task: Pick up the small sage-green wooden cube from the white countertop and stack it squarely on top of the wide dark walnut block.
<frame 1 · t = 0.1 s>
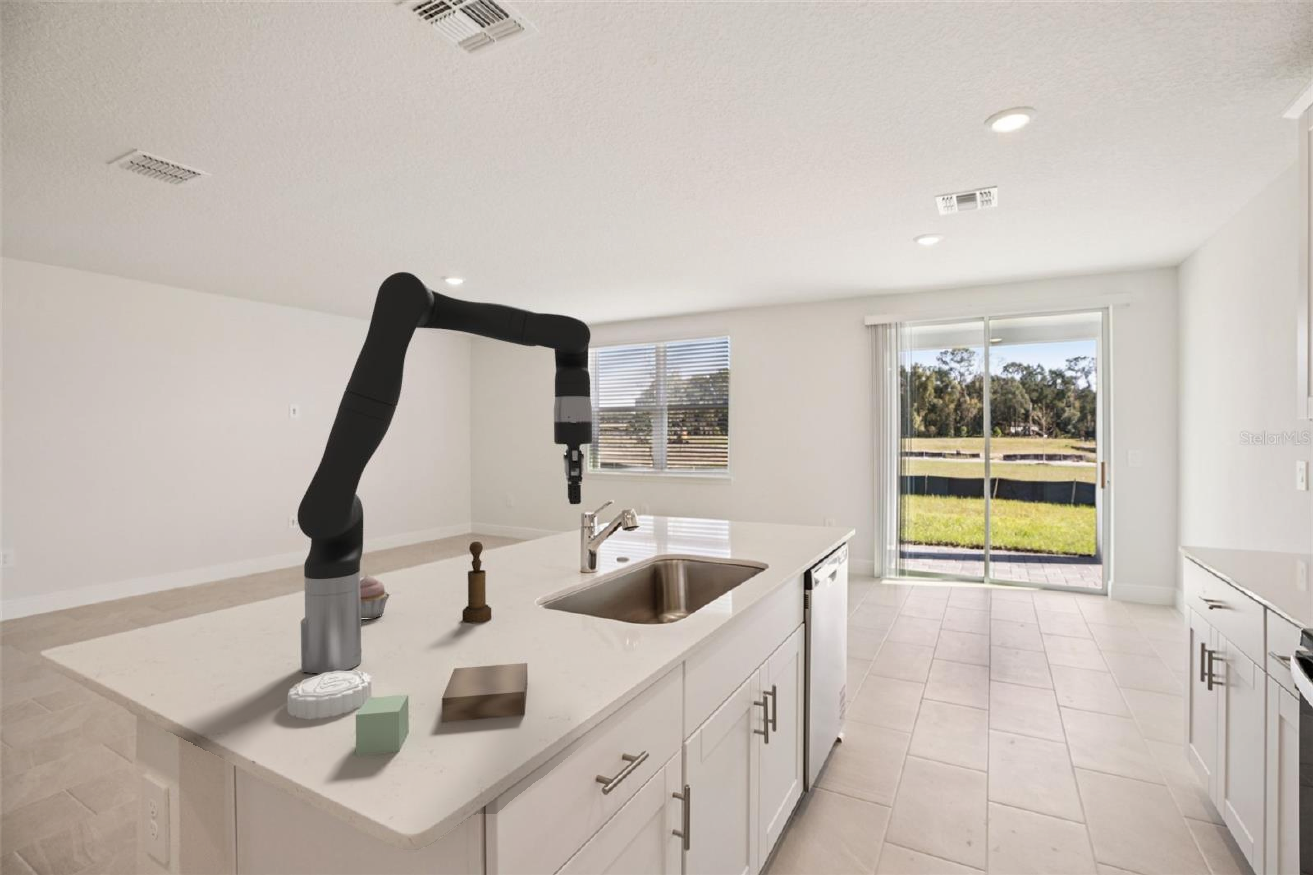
hand: (574, 501, 123), 29 cm above the worktop, tool pointing down, fingers open, 8 cm apart
sage block: (383, 743, 86), on the worktop
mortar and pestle: (477, 620, 144), on the worktop
mooncake: (331, 705, 100), on the worktop
walnut block: (487, 704, 99), on the worktop
cupcake: (368, 617, 148), on the worktop
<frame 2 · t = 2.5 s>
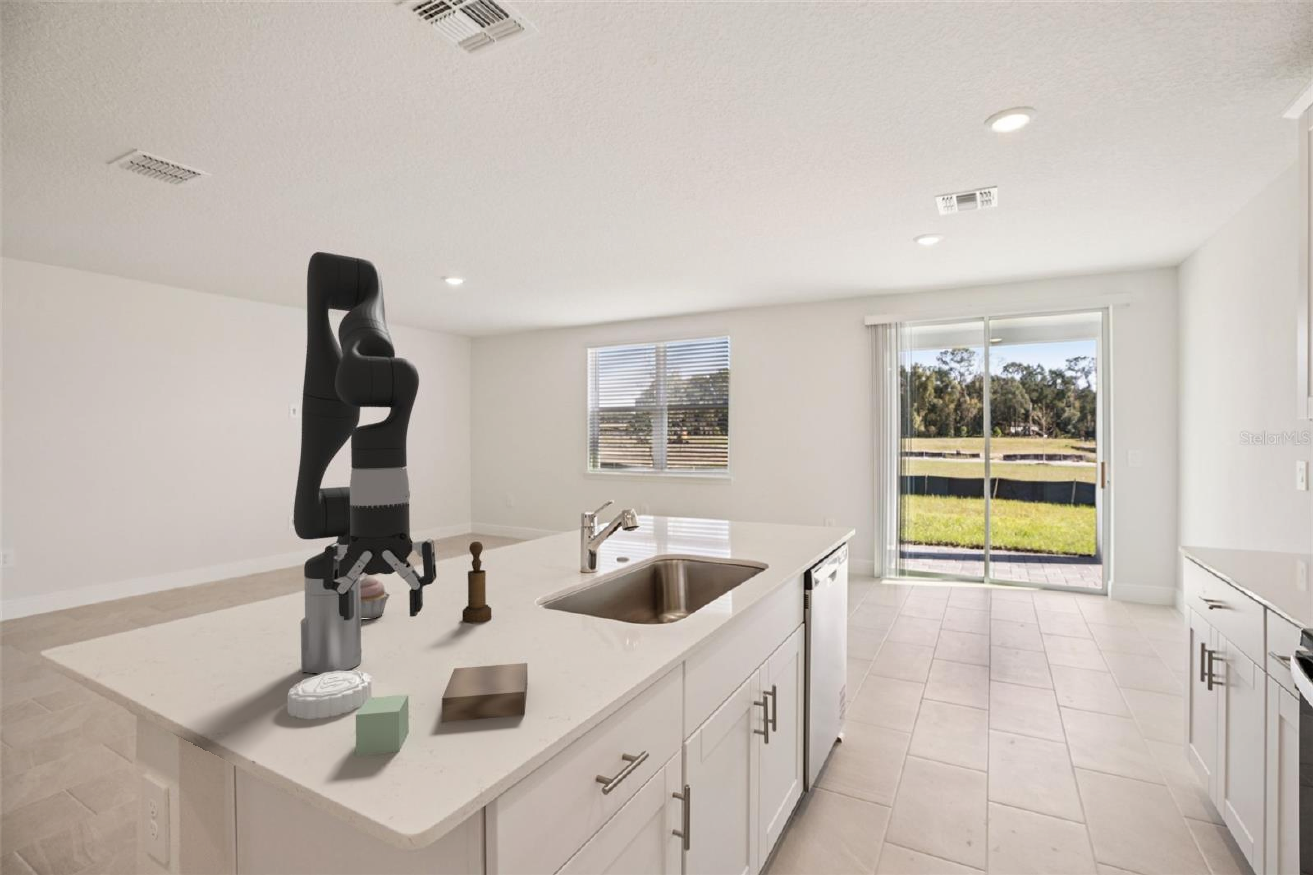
hand: (382, 617, 86), 17 cm above the worktop, tool pointing down, fingers open, 8 cm apart
nothing on the worktop moved.
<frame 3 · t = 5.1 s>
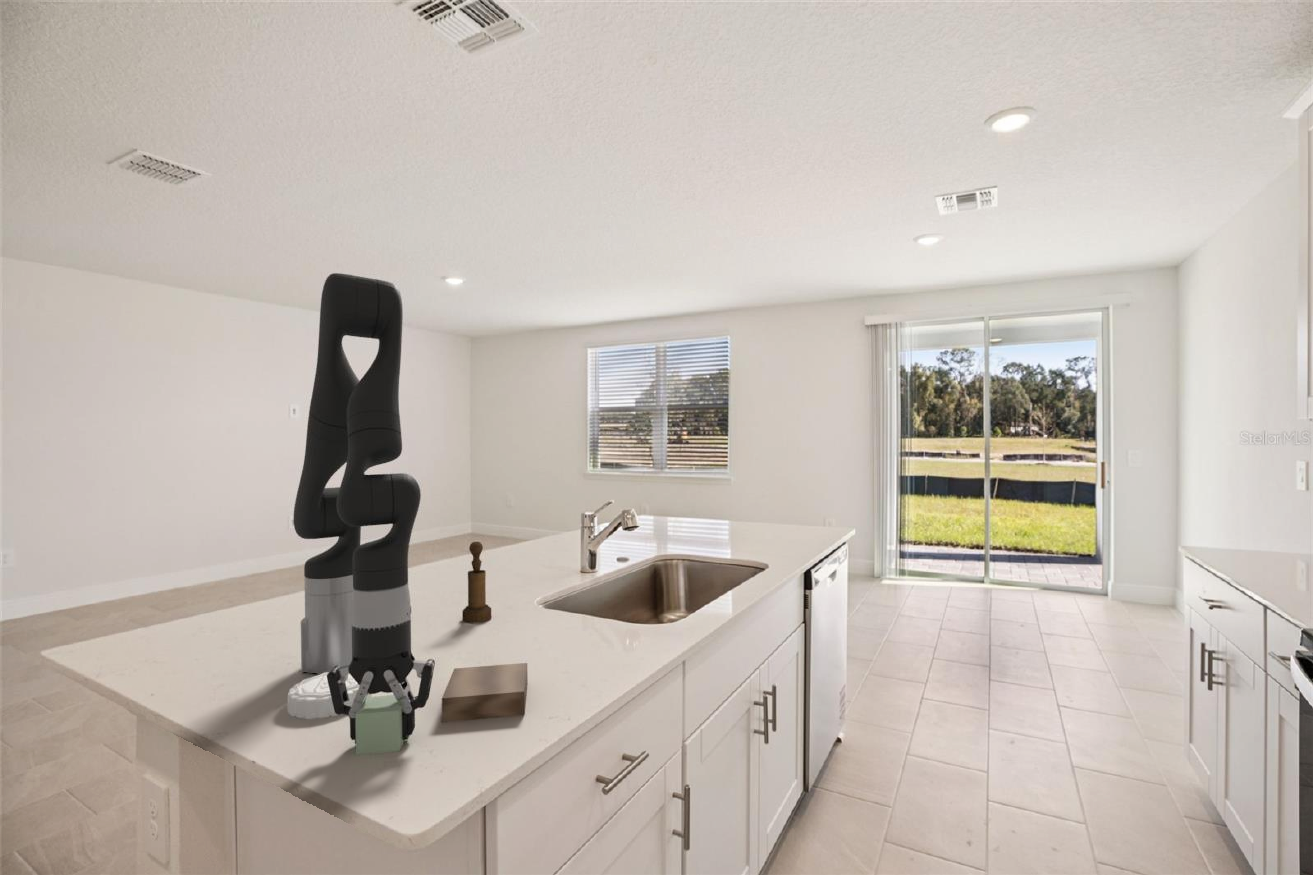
hand: (383, 738, 86), 1 cm above the worktop, tool pointing down, fingers closed on sage block, 5 cm apart
sage block: (383, 743, 86), on the worktop, touching gripper
everything else where it was.
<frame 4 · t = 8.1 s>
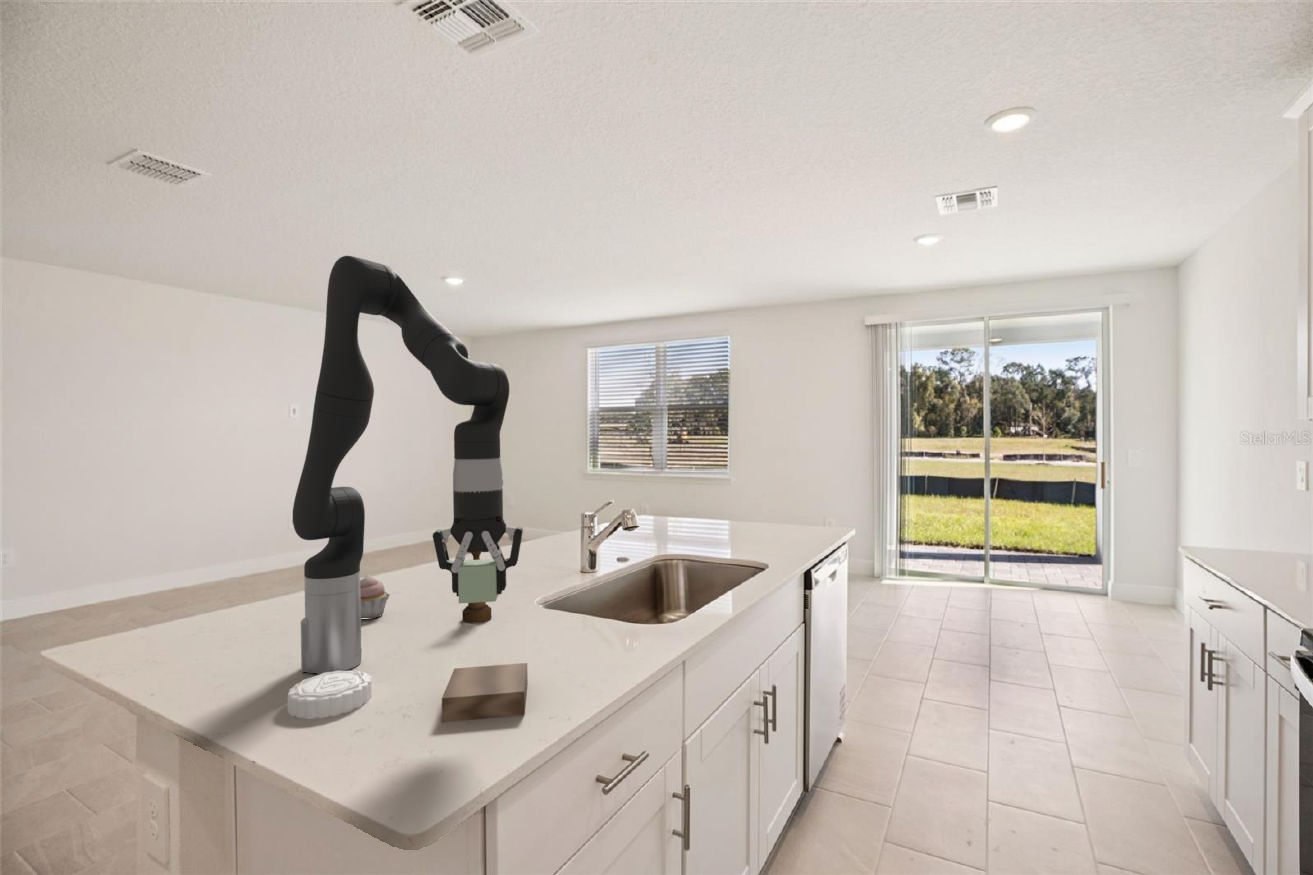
hand: (479, 593, 98), 18 cm above the worktop, tool pointing down, fingers closed on sage block, 5 cm apart
sage block: (479, 597, 98), point 17 cm above the worktop, touching gripper
everything else where it was.
when the fingers open (6 cm above the worktop, at t = 11.3 s): sage block drops 2 cm, resting on walnut block.
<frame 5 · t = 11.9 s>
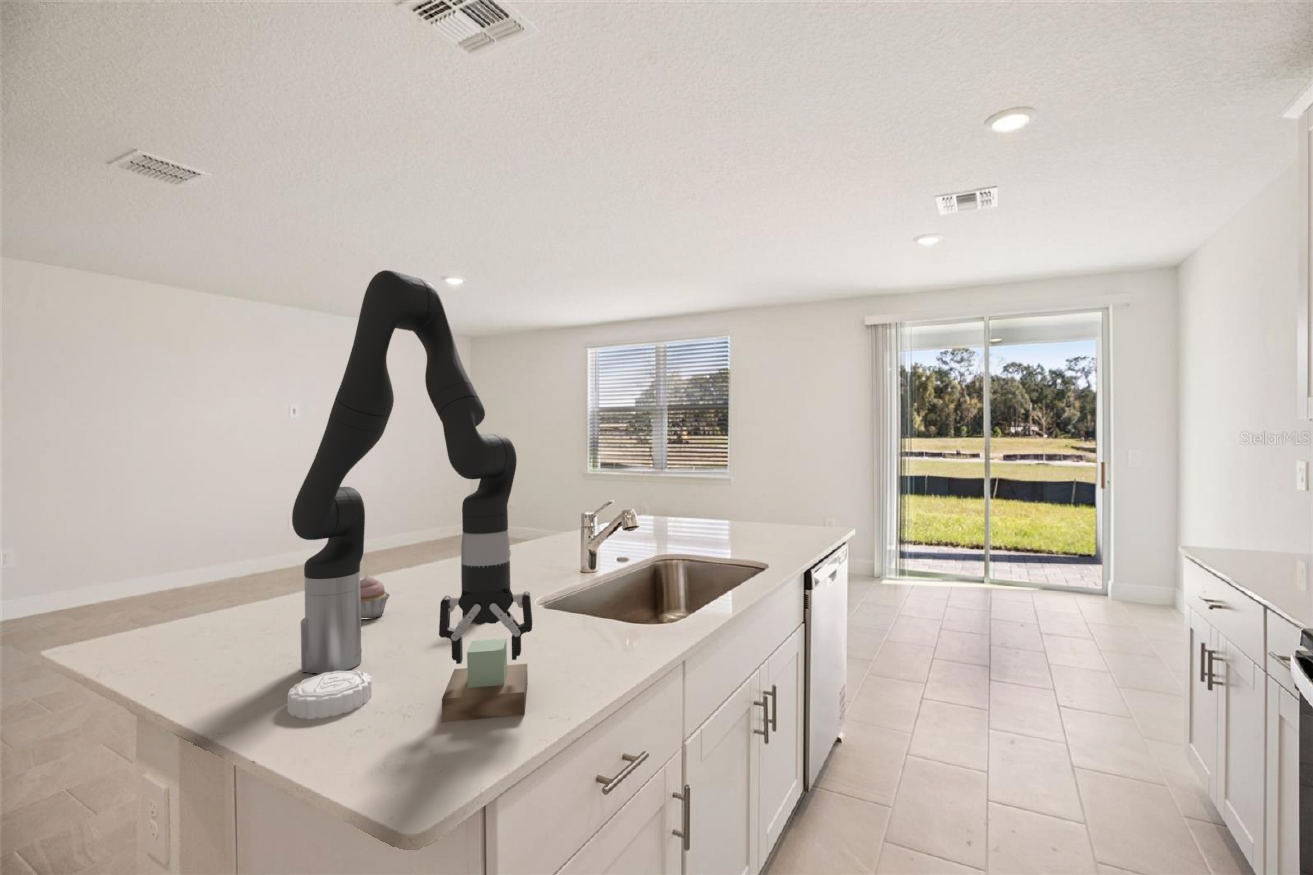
hand: (487, 660, 99), 7 cm above the worktop, tool pointing down, fingers open, 8 cm apart
sage block: (488, 679, 99), point 3 cm above the worktop, touching walnut block
walnut block: (487, 705, 99), on the worktop, touching sage block
everything else where it was.
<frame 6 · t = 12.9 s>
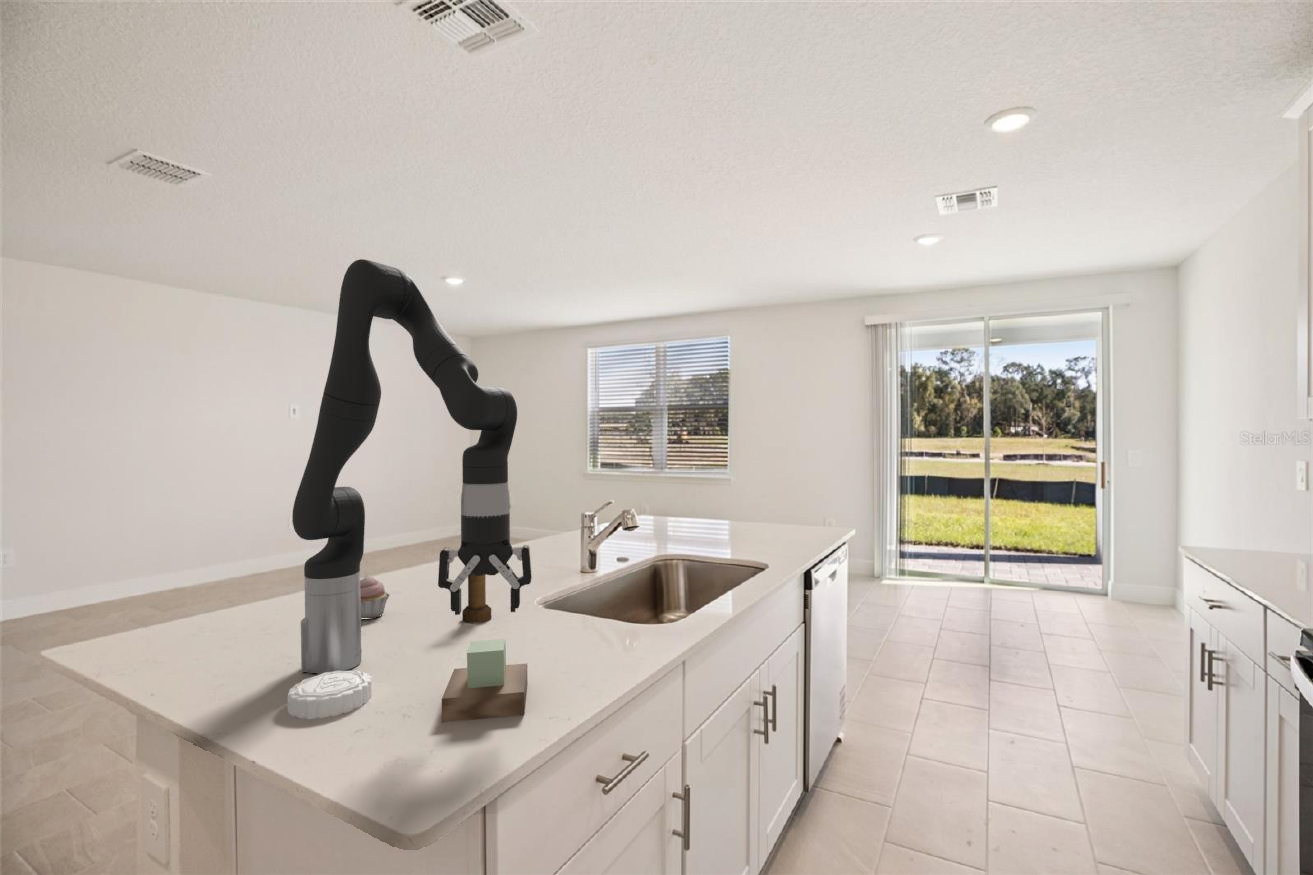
hand: (486, 612, 99), 14 cm above the worktop, tool pointing down, fingers open, 8 cm apart
nothing on the worktop moved.
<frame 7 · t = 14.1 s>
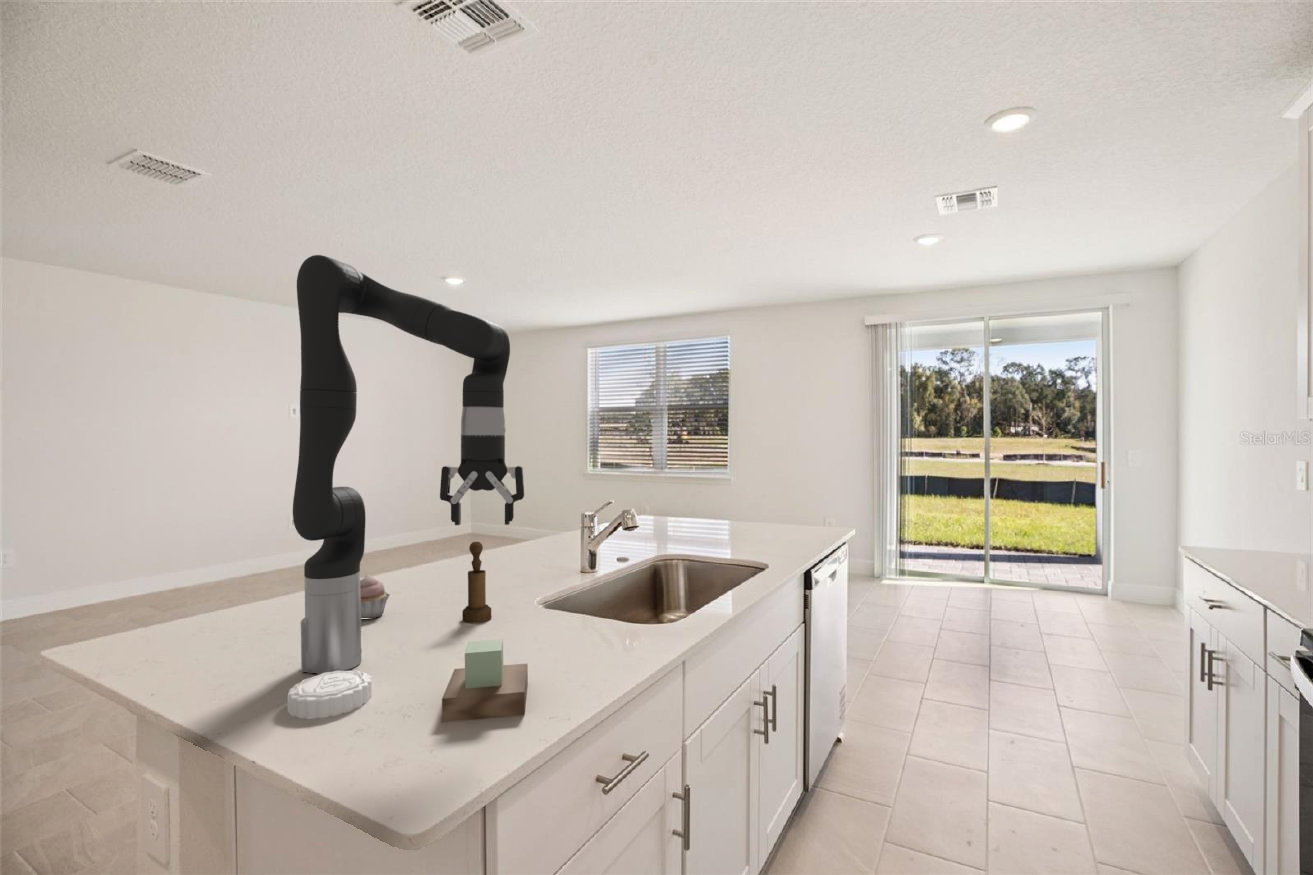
hand: (482, 524, 110), 27 cm above the worktop, tool pointing down, fingers open, 8 cm apart
sage block: (484, 680, 99), point 3 cm above the worktop
walnut block: (488, 704, 99), on the worktop
everything else where it was.
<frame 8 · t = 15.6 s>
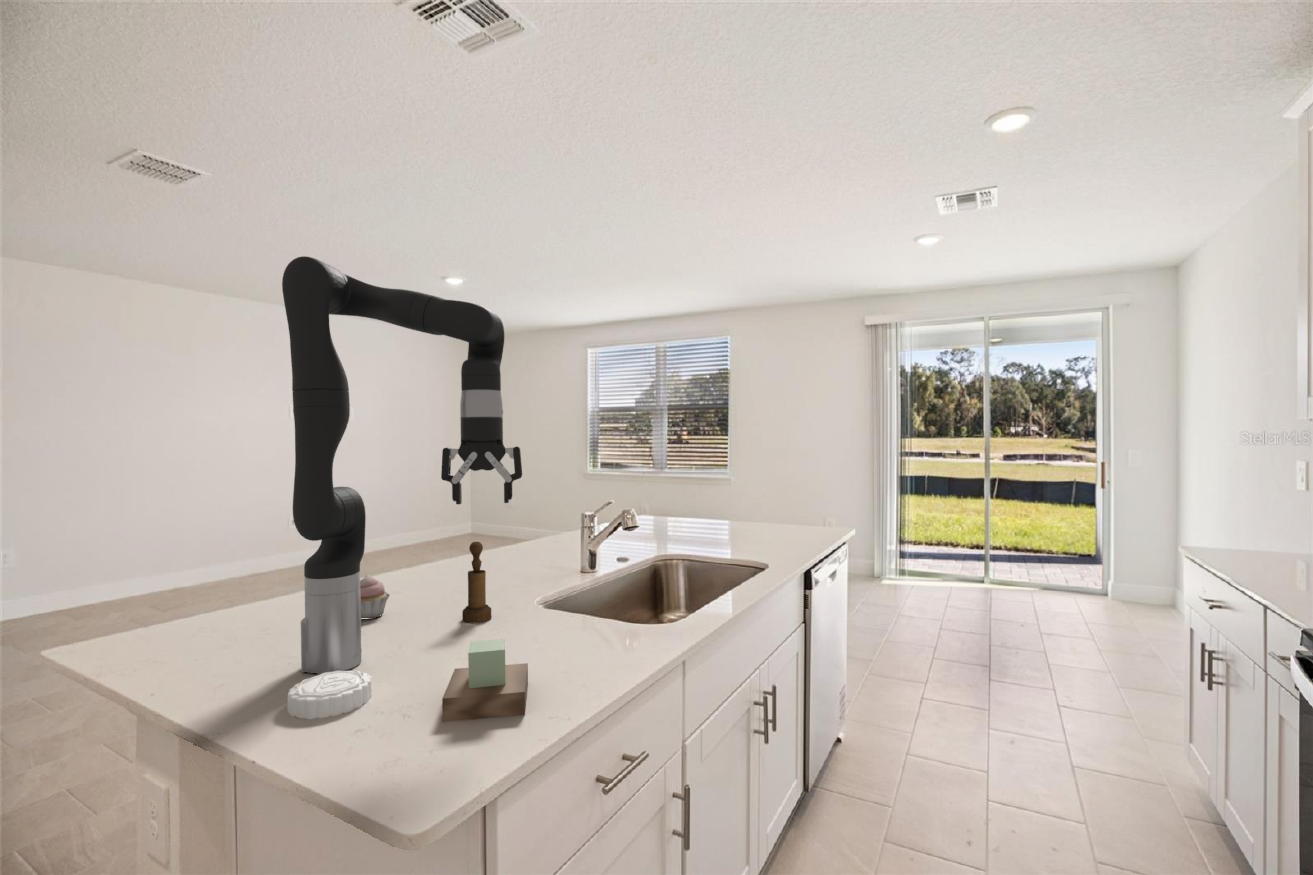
hand: (483, 503, 114), 30 cm above the worktop, tool pointing down, fingers open, 8 cm apart
sage block: (487, 680, 99), point 4 cm above the worktop, touching walnut block
walnut block: (488, 704, 99), on the worktop, touching sage block
everything else where it was.
at the end: sage block inside the target area on the walnut block (0.2 cm from its centre), point 4.0 cm above the walnut block's base; sage block tilted 0°; the gripper is holding nothing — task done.
